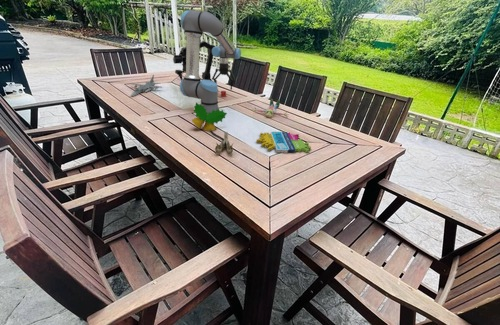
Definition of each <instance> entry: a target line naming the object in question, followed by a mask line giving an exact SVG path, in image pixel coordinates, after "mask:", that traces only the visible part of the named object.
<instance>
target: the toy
mask: <svg viewBox="0 0 500 325" xmlns="http://www.w3.org/2000/svg"><path fill="white" fill-rule="evenodd" d="M280 101H281V100H280V98H278V99H277V100H276V102H275V104H274V100H273V98H270V101H269V106H268V107H267V108H266V110H265V109H257V108H256V107H254V108H252V109H251V110H252V112H253V113H256V112H258V113H265V114H263V116H264V117H266V118H273V117H274V115H278V116H284V117H289V116H290V115H289V113H288V112H285V113H282V112H278V111H276V109H278V108H279V107H280V104H281V102H280Z"/></svg>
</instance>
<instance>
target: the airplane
mask: <svg viewBox="0 0 500 325" xmlns="http://www.w3.org/2000/svg"><path fill="white" fill-rule="evenodd" d="M154 78H155V74H152V76H151V78H150V80H149V81H144V83H145V84H139V83H133V82H132V83H130V85H134V86H133V87H132V88H133V89H135V88H136V89H135V90H134V91H132V92H131V94H130V95H129V96H128V97H135V96H137V95H139V94H141V93H148V92H150V91H151V90H153V91H156V90H158V88H161V86H159V85H160V84H161V83H160V82H155V81H154Z"/></svg>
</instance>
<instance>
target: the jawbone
mask: <svg viewBox="0 0 500 325" xmlns="http://www.w3.org/2000/svg"><path fill="white" fill-rule="evenodd" d="M223 135H224V136H223V139H224V140H222V139H221V142H220V144H218V142H215V144H216V146H215V148H214V149H215V152H214V154H215V155H217V156H218V155H220V153H221V152H223V151H224V150H226V152H227V153H228V155H229V156H233V155H234V154H233V153H234V148H233V144H234V143H230V140H228V139H229V138H228V137H229V136H228V135H229V133H228V131H226V132H224V134H223Z"/></svg>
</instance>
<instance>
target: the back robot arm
mask: <svg viewBox="0 0 500 325" xmlns="http://www.w3.org/2000/svg"><path fill="white" fill-rule="evenodd" d="M214 47H216V45H214V44H210V43H208V42H207V41H205V40H202V41H200V49H202V48H205V49H206V50H207V51H206V52H207V58H206V64H205V69H204V71H203V72H202V73H201V80H211V81H213V80H212V75H211V70H212V63H213V59H214V56H213V55H212V49H213V48H214ZM186 48H187V46H183V47H181V49H180V52H179V54H173V58H172V62H173V64H181V66H182V70H181V69H175V70H174V73H175V74H176V75H178V77H179V79H180V81H181V80H182V79H183V74H184V73H185V74H186Z"/></svg>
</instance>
